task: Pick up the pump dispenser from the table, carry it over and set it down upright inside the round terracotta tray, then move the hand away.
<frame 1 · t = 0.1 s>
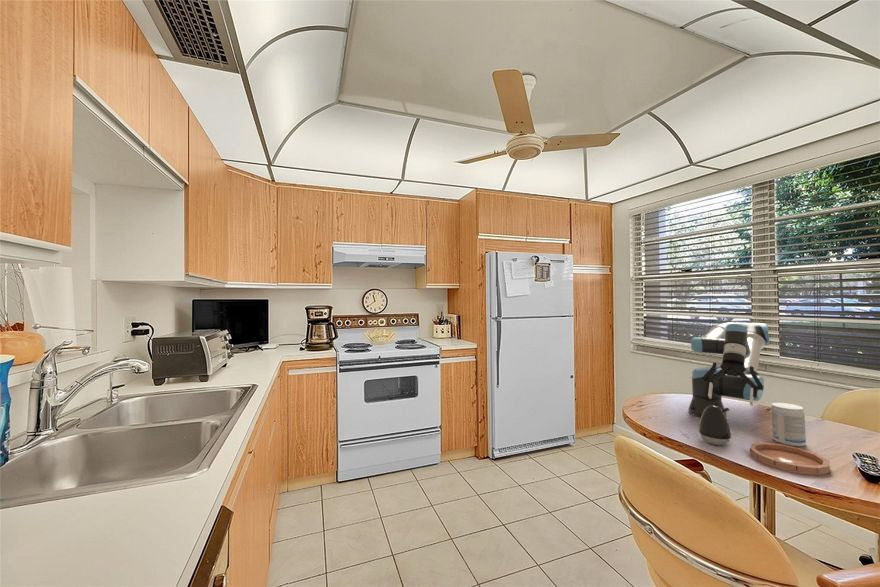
hand: (729, 400, 147), 15 cm above the table, tool tilted 35°, fingers open, 13 cm apart
supplement tub: (788, 442, 142), on the table
round tray: (787, 461, 126), on the table
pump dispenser: (715, 443, 142), on the table
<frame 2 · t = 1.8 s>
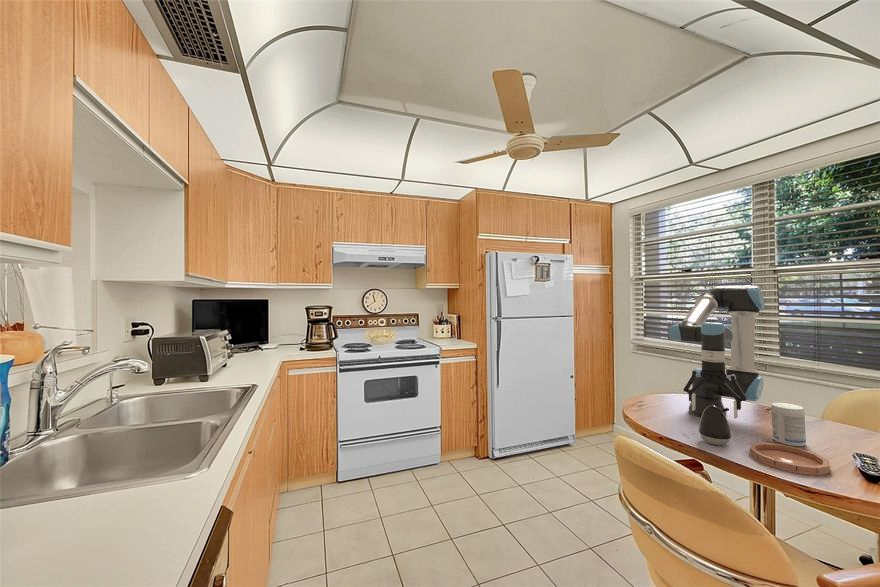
hand: (714, 413, 142), 12 cm above the table, tool pointing down, fingers open, 13 cm apart
nothing on the table moved.
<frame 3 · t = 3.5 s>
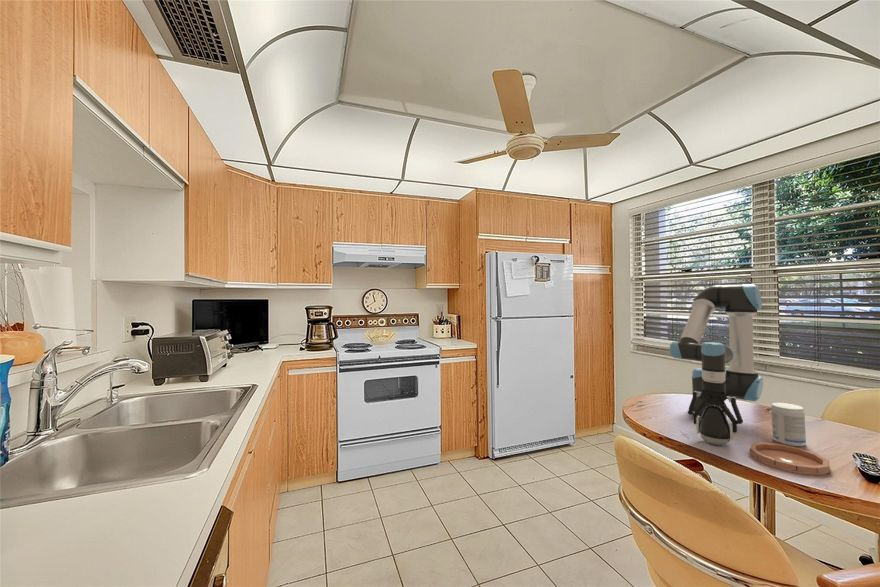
hand: (714, 436, 142), 3 cm above the table, tool pointing down, fingers closed on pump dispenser, 10 cm apart
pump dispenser: (715, 443, 142), on the table, touching gripper
everything else where it was.
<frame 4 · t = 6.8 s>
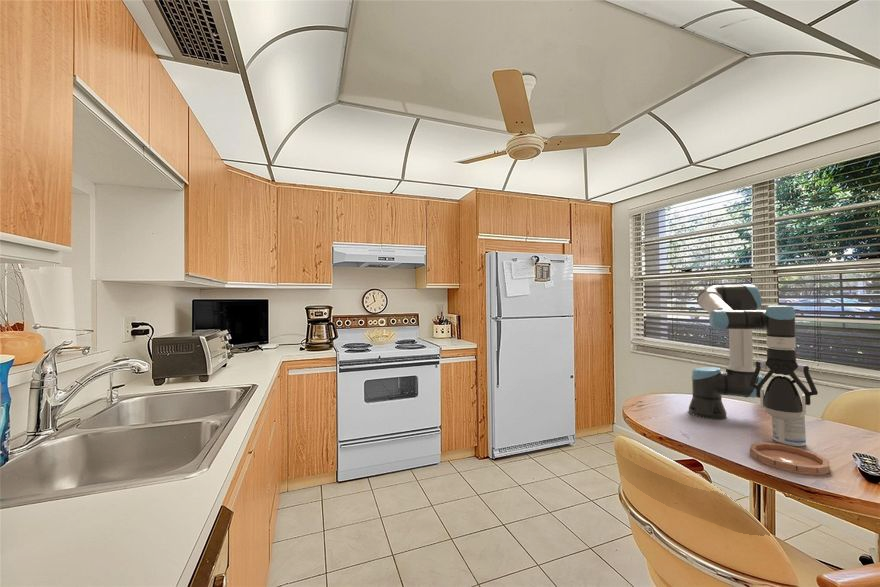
hand: (782, 410, 127), 18 cm above the table, tool pointing down, fingers closed on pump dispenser, 10 cm apart
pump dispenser: (783, 418, 126), point 15 cm above the table, touching gripper
everything else where it was.
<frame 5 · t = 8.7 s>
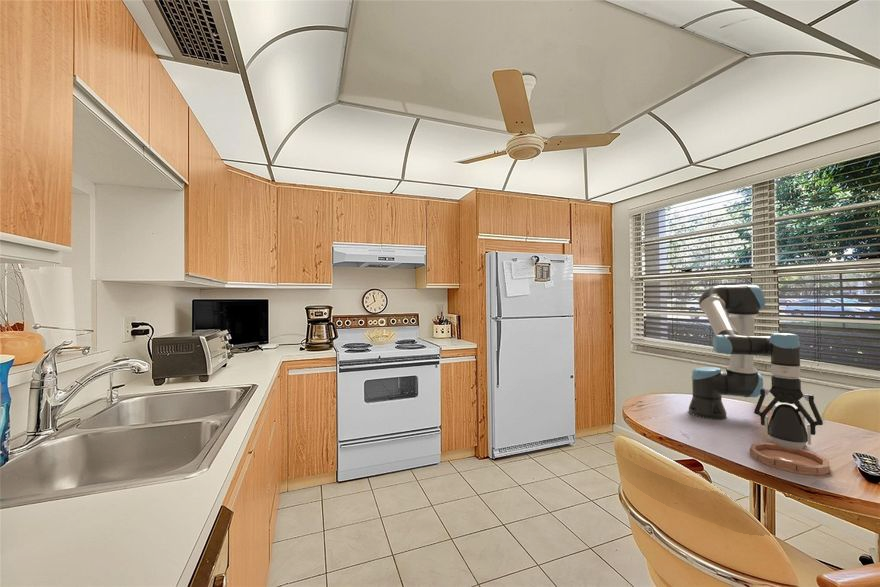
hand: (787, 438, 126), 8 cm above the table, tool pointing down, fingers closed on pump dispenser, 10 cm apart
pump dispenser: (788, 447, 126), point 5 cm above the table, touching gripper
everything else where it was.
when the fingers open (5 cm above the table, at t = 10.4 s): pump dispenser drops 1 cm, resting on round tray.
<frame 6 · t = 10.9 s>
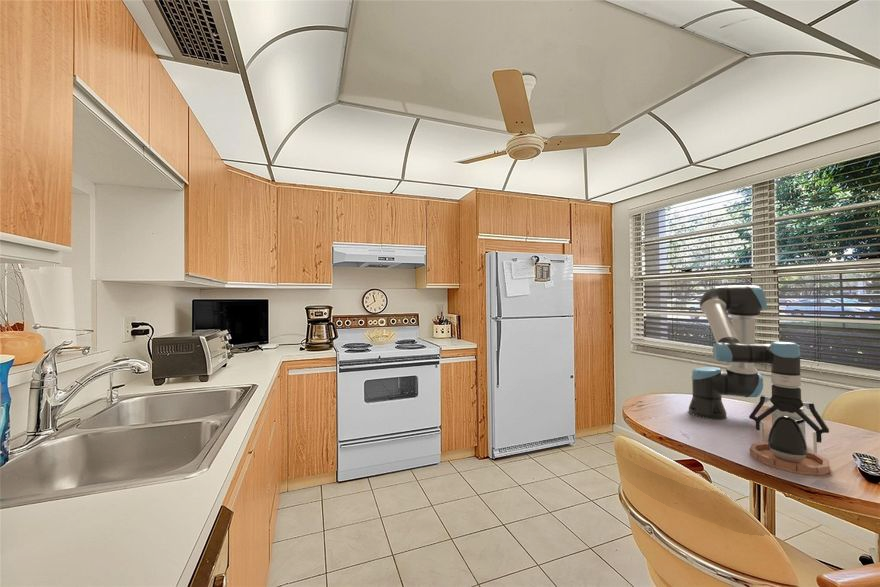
hand: (787, 445, 126), 6 cm above the table, tool pointing down, fingers open, 13 cm apart
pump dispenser: (787, 459, 126), point 1 cm above the table, touching round tray
everything else where it was.
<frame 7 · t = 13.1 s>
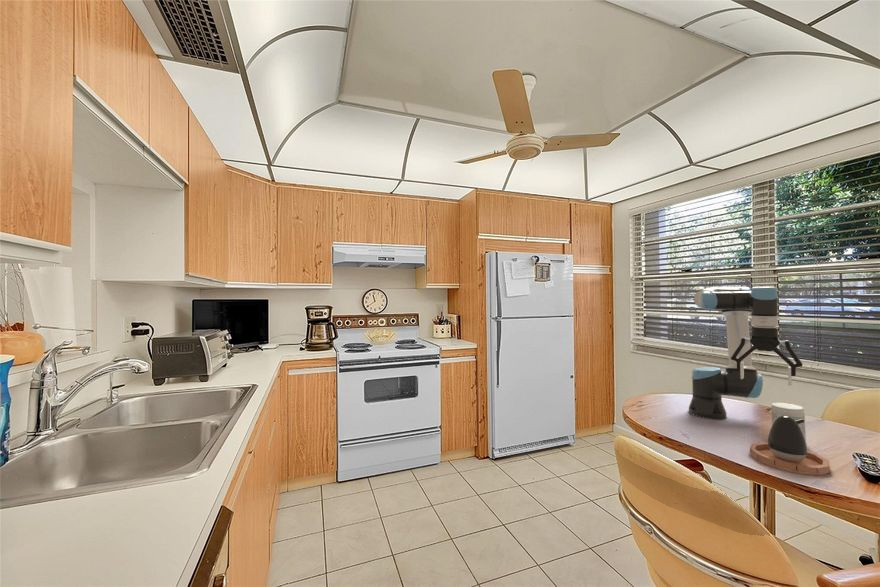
hand: (765, 381, 136), 26 cm above the table, tool pointing down, fingers open, 13 cm apart
nothing on the table moved.
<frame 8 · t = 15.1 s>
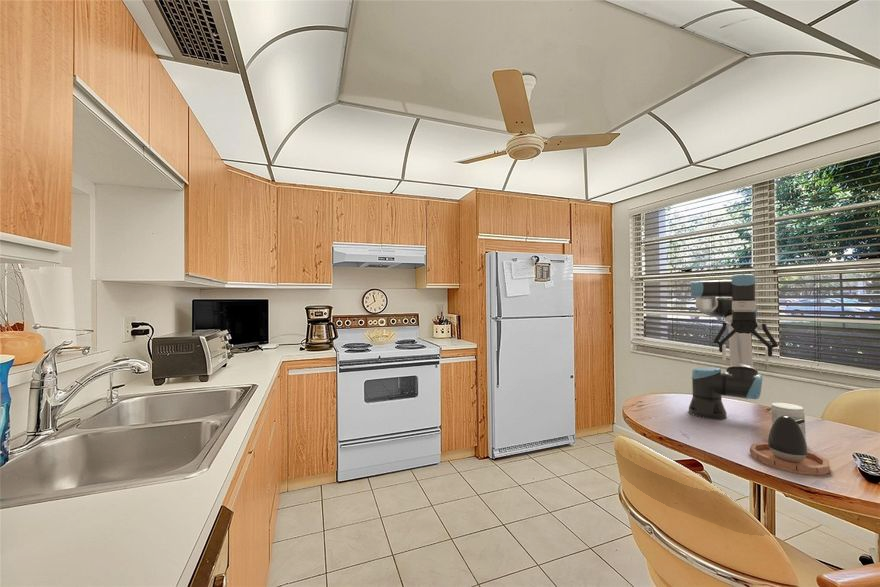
hand: (744, 362, 146), 32 cm above the table, tool pointing down, fingers open, 13 cm apart
nothing on the table moved.
at the end: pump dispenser inside the target area on the round tray (0.0 cm from its centre), point 0.6 cm above the round tray's base; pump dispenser tilted 0°; the gripper is holding nothing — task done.
